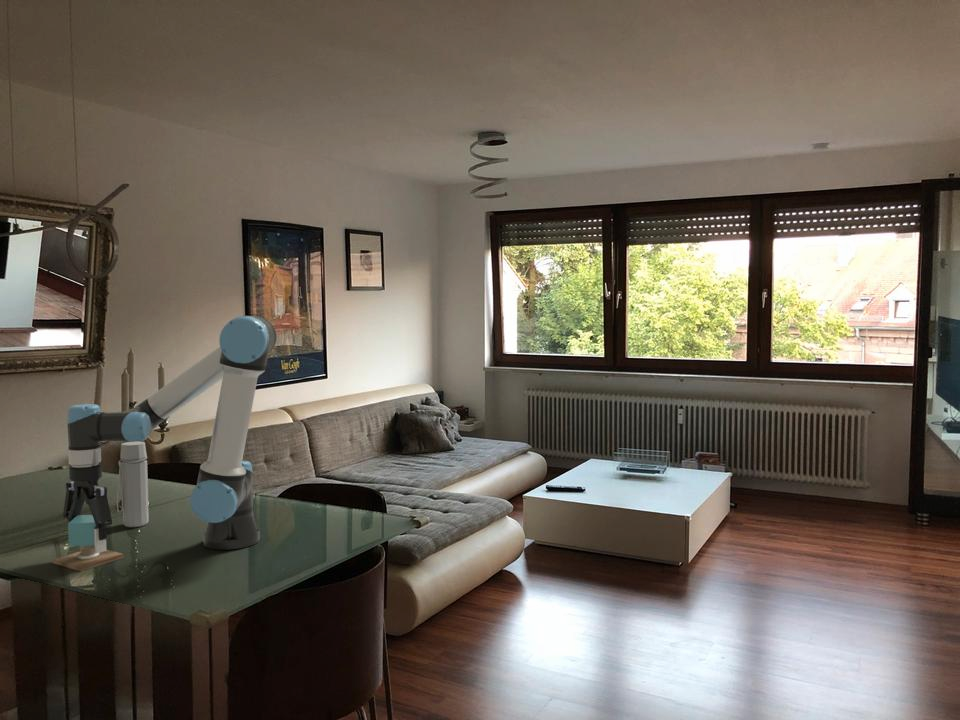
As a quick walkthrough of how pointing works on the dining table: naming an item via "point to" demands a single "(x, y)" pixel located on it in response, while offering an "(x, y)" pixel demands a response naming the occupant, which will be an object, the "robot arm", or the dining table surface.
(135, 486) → the water bottle
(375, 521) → the dining table surface
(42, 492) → the dining table surface
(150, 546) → the dining table surface
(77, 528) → the teal block
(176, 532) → the dining table surface
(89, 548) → the wooden peg stand
